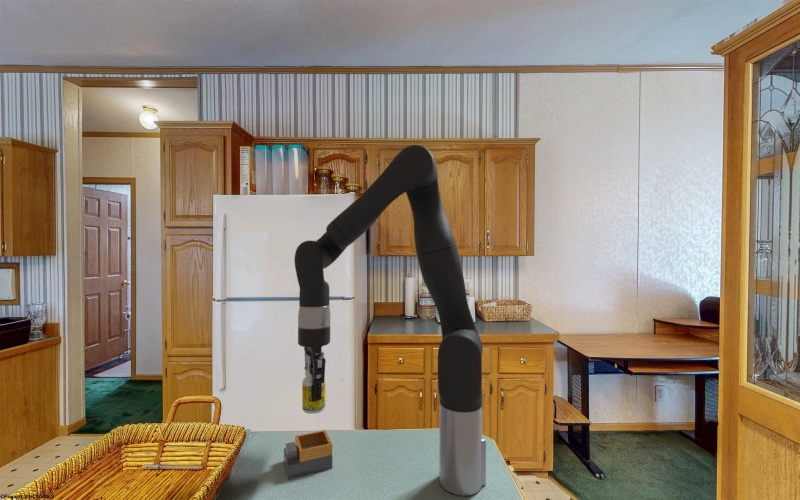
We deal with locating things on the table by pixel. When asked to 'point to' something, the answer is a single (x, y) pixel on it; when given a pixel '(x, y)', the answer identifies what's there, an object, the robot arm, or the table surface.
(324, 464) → the orange open box frame
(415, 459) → the table surface
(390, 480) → the table surface
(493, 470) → the table surface
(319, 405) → the supplement bottle
